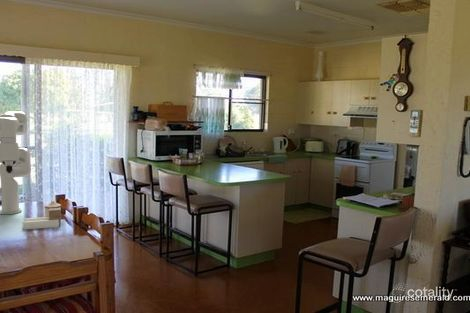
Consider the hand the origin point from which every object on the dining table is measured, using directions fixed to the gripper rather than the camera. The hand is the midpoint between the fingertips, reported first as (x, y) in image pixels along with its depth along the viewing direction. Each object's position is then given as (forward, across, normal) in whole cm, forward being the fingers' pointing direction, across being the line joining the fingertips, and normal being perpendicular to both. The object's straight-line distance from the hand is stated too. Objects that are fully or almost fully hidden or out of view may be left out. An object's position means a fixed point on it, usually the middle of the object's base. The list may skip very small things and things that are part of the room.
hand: (9, 172), depth 238 cm
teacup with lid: (+29, +22, +1) cm, 37 cm away
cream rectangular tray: (+29, +16, -12) cm, 35 cm away
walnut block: (+28, +23, -12) cm, 38 cm away
